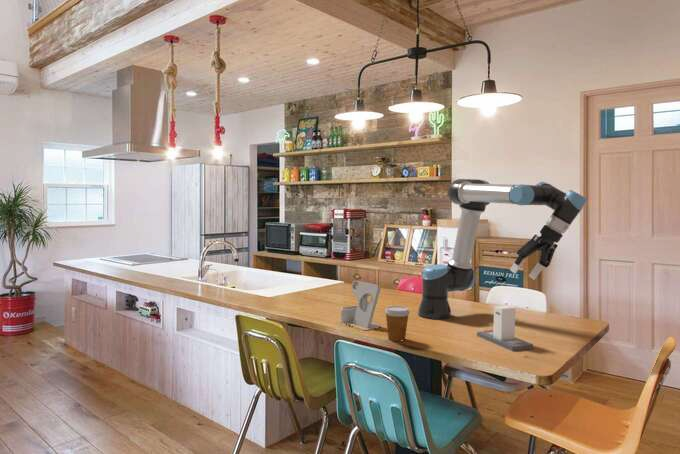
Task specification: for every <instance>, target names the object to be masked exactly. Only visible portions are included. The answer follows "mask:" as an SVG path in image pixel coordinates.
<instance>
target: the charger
mask: <svg viewBox="0 0 680 454" xmlns="http://www.w3.org/2000/svg"><path fill="white" fill-rule="evenodd" d="M515 332H516V307H513V306H510V305H508V304H507V305H506V304H505V305H495V306H493V338H496V339H498V340H501V341H502V340H511V339H515V338H516V336H515V335H516V334H515Z"/></svg>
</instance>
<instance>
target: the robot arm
mask: <svg viewBox="0 0 680 454" xmlns="http://www.w3.org/2000/svg"><path fill="white" fill-rule="evenodd" d="M446 191H447V197H448V199H449V201H451V203H453V204H455V205H458V206H459V208H460V210H461V213H460V218H459V223H458V228H457V233H456V237H455V243H454V248H453V252H452V257H451V258H450V259H449V260H448V261H447V265H446V264H440V263H439V264H430V265H427V266H425V267H424V268H423V270H422V275H421V276H422V277H421V278H422V288H421V289H422V294H421V295H422V297H421V301H420V304H419V307H418V309H417V314H418V316H420V317H422V318H425V319H430V320H431V319H433V320H444V319H449V318H451V317H452V310H451V306H450V304H449V299H448V297H449V296H448V294H449V293H451V292H462V291H463V292H464V291H467V290H469V289H470V288H472V287H473V286H474V284H475V281H476V274H475V270H474V268H473V264H472V263H471V261H472V256H473V253H474V252H473V251H474V248H475V247H474V246H475V244H476V243H475V241H476V237H477V234H478V229H479V223H480V219H481V214H483V213H484V212H485V211H486V207H487V206H488V205H490V204H492V203H493V204H506V205H517V206H546V207H548V208H550V209H551V210H553V212H552V214H551V215H550V216H549V218H548V219H547V220H546V222H545V224H544V225H543V226H542V228H541V229H540V231H539V233H540V236H539V235H537V234H534V235H533V237H532V238H530V239H529V240H528V241H527V242H526V243H525V244H523V245H522V246H521V247H520V248H519V249H518V250H517V252H516V254H517V255H518V257H517V258H516V259H515V261H514V262H513V264H512V266H511V267H509V271H511V272H512V273H513V274H514V275H516V274H517V273H518V271H519V270H520V269H521V267H522V265H523V264H524V262H525V261H526V258H528V257H529V256H531V255H533V254H534V253H536V252H537V251H540V256H539V262H537V263H536V265H535V266H534V267H533V268H532V270H531V271H530V273H529V274H528V277H529V278H530V279H532V280H533V281H535V280H536V279H537V277H538V275H540V273H541V272H542V270H543V269H544V268H548V267H549V266H550V265H551V262H552V261H553V257H554V253H555V252H556V249H557V248H558V246H559V245H558V244H557V243H559V242H560V240H561V239H562V237H563V234H565V233H566V232H567V230H569V228H570V226H571V224H572V223H574V222H573V221H574V220H575V219H576V218H577V216H578V215H579V214H580V212H581V211H582V210H583V208H584V206H585V205H586V203H587V198H586V197H585V196H584V195H581V194H579V193H578V192H576V191H574V190H572V189H569V190H567V192H564V191H562V190H561V189H559V188H557V187H556V186H554V185H552V184H550V183H547V182H545V181H540V182H537V183H536V184H535V185H532V184H502V183H501V184H500V183H490V182H489V181H487V180H483V179H478V178H477V179H471V178H469V179H468V178H467V179H466V178H459V179H455V180H453V181H452V182H451V183H450V184H449V185H448V188H447V190H446Z"/></svg>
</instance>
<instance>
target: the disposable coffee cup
mask: <svg viewBox="0 0 680 454" xmlns="http://www.w3.org/2000/svg"><path fill="white" fill-rule="evenodd" d="M384 313H385V317H386V328H387V335H388V336H387V337H388V340H389V341H392V342H397V341H400V342H402V341H401V340H404V339H405V340H406V334H407V328H408V327H407V326H408V321H409V315H410V309H409V308H408V307H406V306H399V305H394V306H393V305H392V306H386V308H385V310H384ZM405 340H404V341H405Z"/></svg>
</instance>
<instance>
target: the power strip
mask: <svg viewBox="0 0 680 454" xmlns="http://www.w3.org/2000/svg"><path fill="white" fill-rule="evenodd" d="M476 337H478V338H481V339H483V340H485V341H488V342H490V343H492V344H494V345H497V346H499V347H502V348H504V349H506V350H509V351H511V352H515V351H523V350H532V349H533V348H534V344H533V343H531V342H528V341H525V340H523V339H520V338H517V337H515V339H511V340H502V341H501V340H498V339H496V338H493V330H492V329H490V328H488V329H484V331H483V330H482V331H476Z"/></svg>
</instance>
